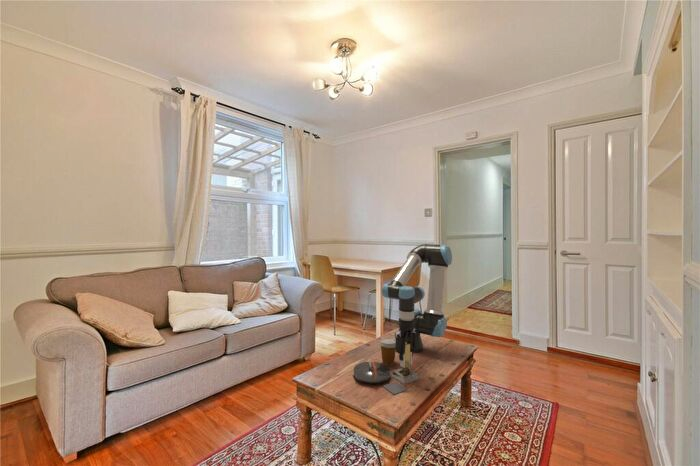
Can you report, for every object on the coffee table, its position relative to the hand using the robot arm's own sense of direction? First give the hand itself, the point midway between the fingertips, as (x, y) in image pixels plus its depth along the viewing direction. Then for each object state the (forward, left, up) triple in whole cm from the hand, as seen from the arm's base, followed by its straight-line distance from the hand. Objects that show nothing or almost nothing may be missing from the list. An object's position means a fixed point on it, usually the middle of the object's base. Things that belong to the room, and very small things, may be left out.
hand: (405, 365), depth 148 cm
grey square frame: (0, 0, -6) cm, 6 cm away
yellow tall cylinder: (0, 0, -4) cm, 4 cm away
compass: (+14, -9, -5) cm, 18 cm away
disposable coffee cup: (-3, -17, -6) cm, 18 cm away
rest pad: (+11, +5, -6) cm, 14 cm away
